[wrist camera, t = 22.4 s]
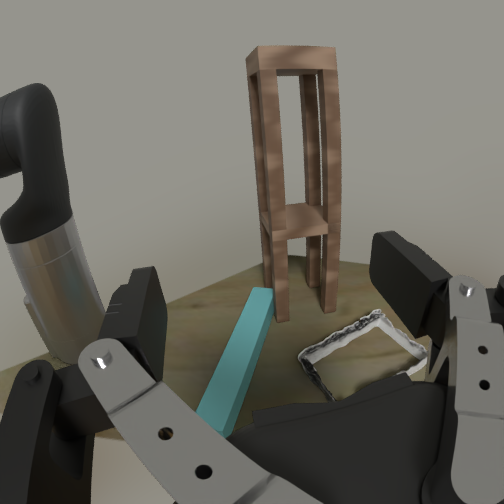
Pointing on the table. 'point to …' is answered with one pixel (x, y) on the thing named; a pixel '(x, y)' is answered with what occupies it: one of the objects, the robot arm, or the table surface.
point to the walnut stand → (272, 174)
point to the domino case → (237, 364)
